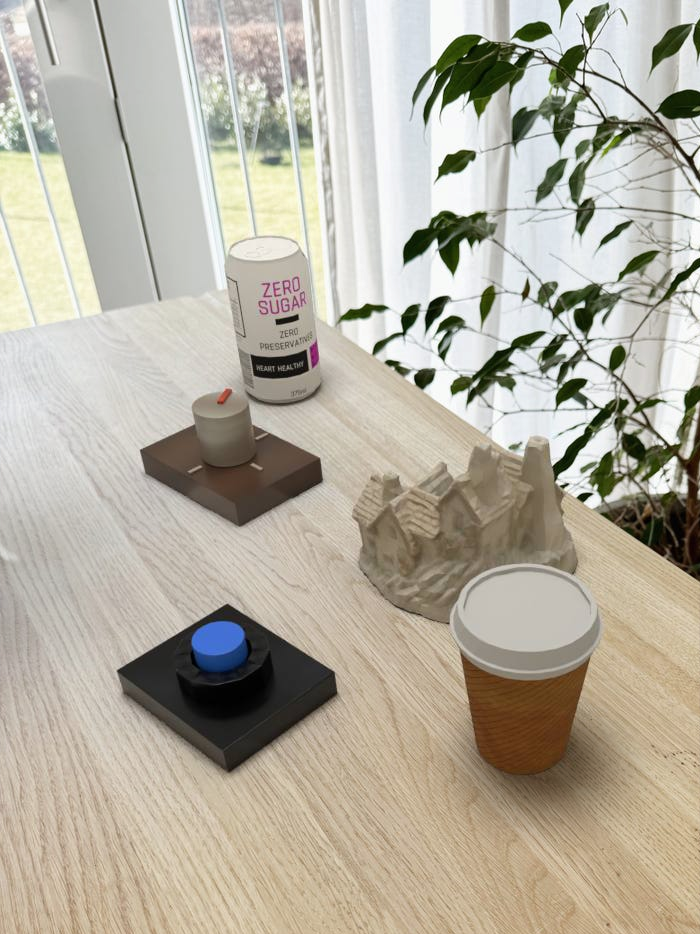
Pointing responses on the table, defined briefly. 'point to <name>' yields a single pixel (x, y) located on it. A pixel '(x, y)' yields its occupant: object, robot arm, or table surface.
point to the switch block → (229, 690)
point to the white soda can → (273, 318)
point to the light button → (219, 646)
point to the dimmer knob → (224, 428)
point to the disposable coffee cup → (525, 660)
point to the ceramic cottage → (461, 526)
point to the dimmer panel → (233, 474)
